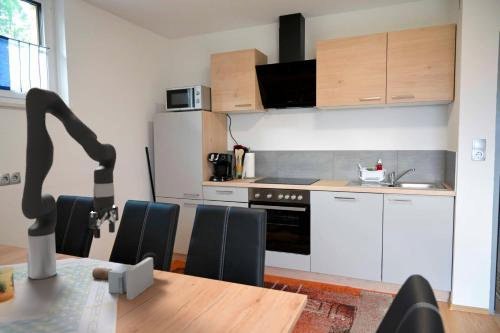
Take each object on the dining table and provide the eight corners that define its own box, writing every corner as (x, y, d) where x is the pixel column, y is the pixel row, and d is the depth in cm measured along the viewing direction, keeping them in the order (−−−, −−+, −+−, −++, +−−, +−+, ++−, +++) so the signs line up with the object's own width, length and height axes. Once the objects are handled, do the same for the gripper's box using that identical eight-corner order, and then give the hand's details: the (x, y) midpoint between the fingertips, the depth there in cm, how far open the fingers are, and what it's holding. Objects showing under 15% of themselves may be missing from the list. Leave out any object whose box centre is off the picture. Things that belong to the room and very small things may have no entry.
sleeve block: (108, 292, 120) (108, 271, 120) (122, 283, 128) (121, 264, 127) (122, 293, 119) (121, 273, 118) (135, 284, 126) (134, 265, 126)
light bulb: (155, 280, 131) (154, 255, 130) (140, 280, 131) (139, 255, 130) (159, 274, 137) (158, 250, 136) (145, 274, 137) (144, 250, 136)
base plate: (126, 299, 115) (126, 270, 114) (148, 282, 128) (148, 257, 128) (132, 299, 114) (131, 271, 114) (153, 283, 128) (152, 257, 127)
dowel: (94, 280, 134) (91, 272, 132) (100, 272, 137) (97, 265, 135) (118, 282, 131) (115, 274, 129) (123, 275, 134) (121, 267, 133)
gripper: (107, 191, 139) (108, 230, 140) (82, 196, 125) (83, 239, 127) (123, 192, 137) (124, 231, 138) (99, 197, 124) (100, 240, 125)
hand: (104, 235), depth 132 cm, fingers open, 8 cm apart
